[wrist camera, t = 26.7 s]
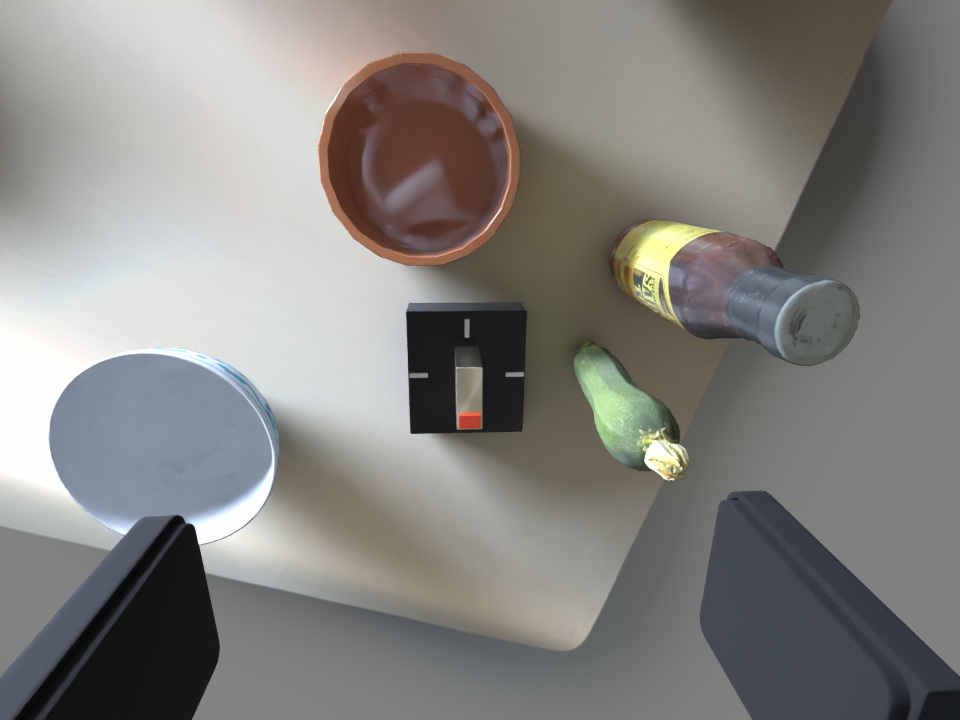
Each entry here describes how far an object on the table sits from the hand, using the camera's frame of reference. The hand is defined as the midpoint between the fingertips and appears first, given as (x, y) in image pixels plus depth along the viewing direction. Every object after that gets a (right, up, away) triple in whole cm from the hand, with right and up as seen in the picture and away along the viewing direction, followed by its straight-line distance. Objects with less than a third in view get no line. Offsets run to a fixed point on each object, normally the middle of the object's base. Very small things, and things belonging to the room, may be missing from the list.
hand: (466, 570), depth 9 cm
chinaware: (-22, 0, +34) cm, 41 cm away
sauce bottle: (+13, +12, +33) cm, 37 cm away
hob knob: (-1, +3, +31) cm, 31 cm away
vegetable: (+9, +4, +35) cm, 36 cm away
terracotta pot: (-4, +18, +29) cm, 35 cm away
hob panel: (-1, +4, +34) cm, 34 cm away
